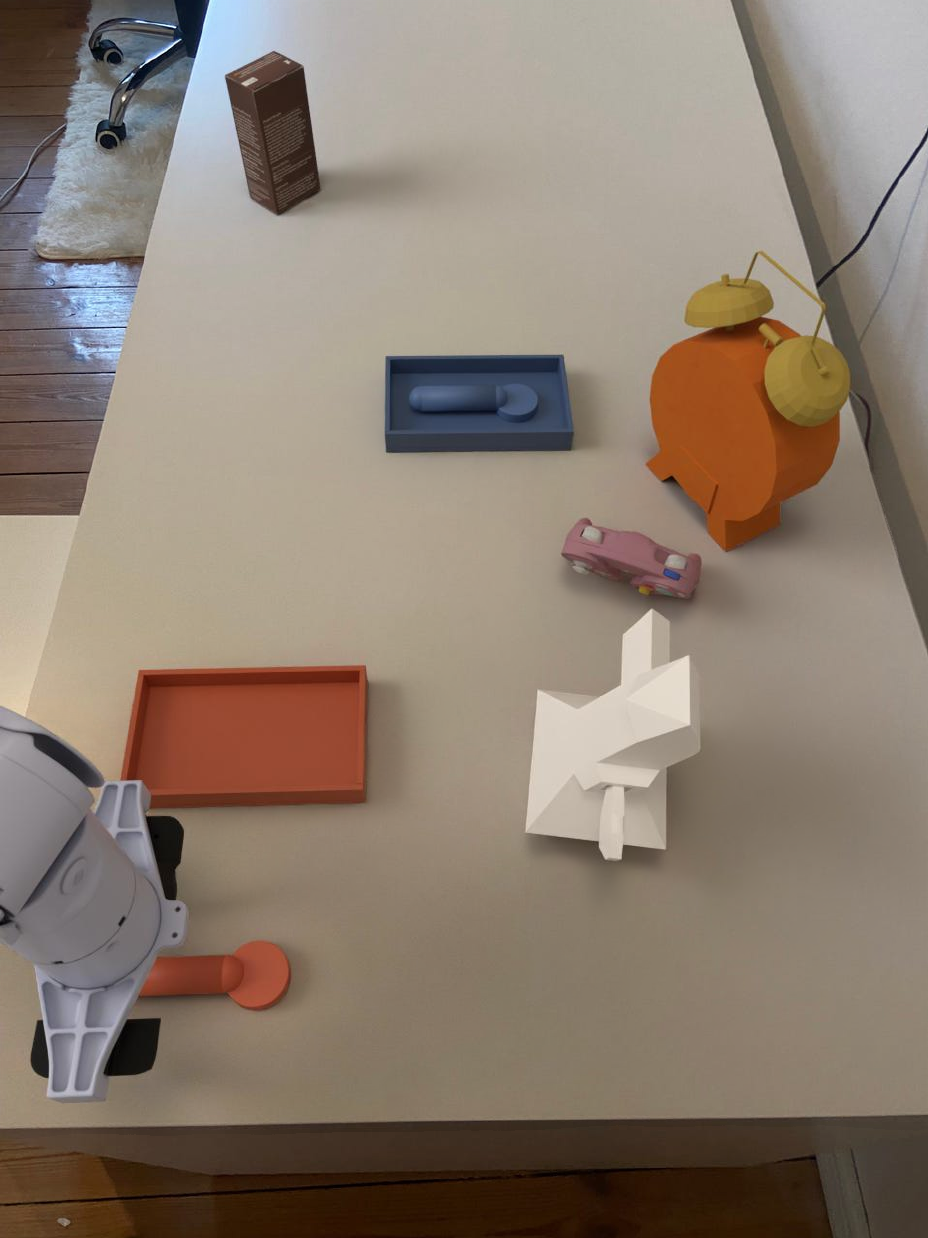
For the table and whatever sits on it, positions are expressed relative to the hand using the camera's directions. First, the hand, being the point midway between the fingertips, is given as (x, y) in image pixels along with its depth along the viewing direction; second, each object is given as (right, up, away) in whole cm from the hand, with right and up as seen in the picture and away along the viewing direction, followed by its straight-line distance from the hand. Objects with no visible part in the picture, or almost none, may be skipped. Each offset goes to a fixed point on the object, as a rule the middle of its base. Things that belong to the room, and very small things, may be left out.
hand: (148, 971), depth 53 cm
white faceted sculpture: (+25, +8, +9) cm, 28 cm away
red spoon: (+2, -1, +2) cm, 3 cm away
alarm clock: (+37, +29, +23) cm, 52 cm away
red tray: (+4, +11, +10) cm, 15 cm away
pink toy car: (+29, +22, +18) cm, 41 cm away
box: (0, +61, +42) cm, 74 cm away
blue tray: (+18, +36, +27) cm, 49 cm away
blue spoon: (+18, +37, +26) cm, 49 cm away
